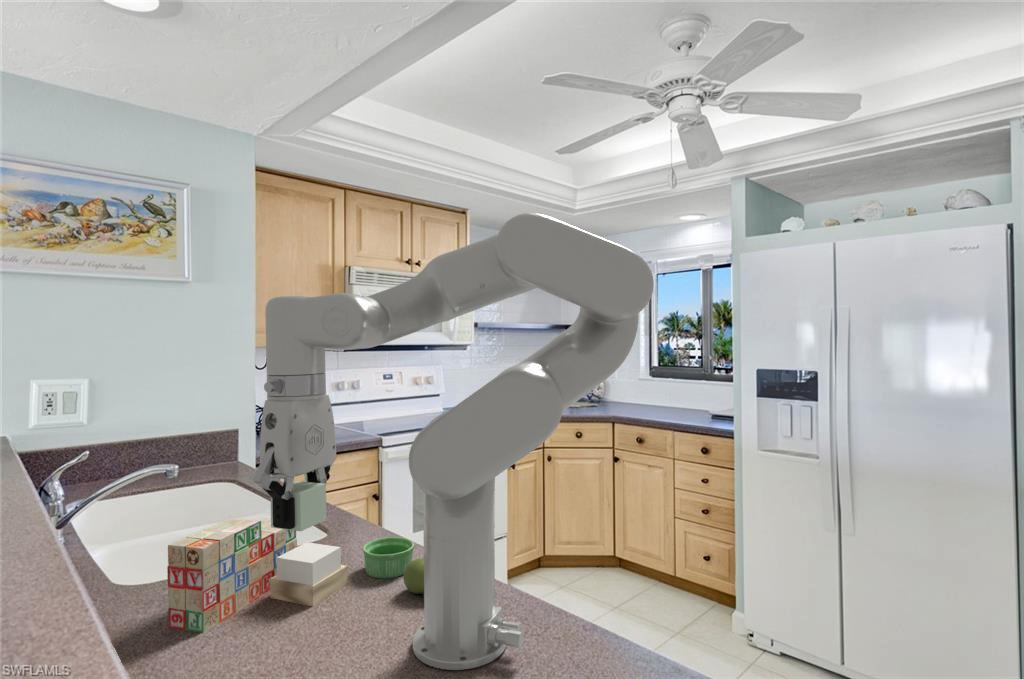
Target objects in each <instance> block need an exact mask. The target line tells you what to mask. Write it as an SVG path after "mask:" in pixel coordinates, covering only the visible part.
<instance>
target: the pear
mask: <svg viewBox="0 0 1024 679" xmlns="http://www.w3.org/2000/svg"><path fill="white" fill-rule="evenodd" d="M403 582H404V586H405V587H406V589H407V590H408V591H409V592H410V593H413V594H416V595H420V594H422V595H424V558H421V557H420V558H415V559H414V560H413V559H412V562H411V563H409V565H408V566H407V567H406V569H405V572H404V575H403Z"/></svg>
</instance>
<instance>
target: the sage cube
mask: <svg viewBox="0 0 1024 679" xmlns="http://www.w3.org/2000/svg"><path fill="white" fill-rule="evenodd" d="M291 498H294V504H295V527H294V528H292V529H286V530H294V531H296V532H303V531H306V530H307V529H309V528H312V527H314V526H316V525H318V524H320V523H322V522H325V521H327V483H326V484H323V483H312V482H306V481H302V480H296V481H293V487H292V493H291ZM270 519H271V528H276V527H274V526H273V502H272V498H270ZM279 529H283V528H279Z"/></svg>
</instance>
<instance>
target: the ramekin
mask: <svg viewBox="0 0 1024 679" xmlns="http://www.w3.org/2000/svg"><path fill="white" fill-rule="evenodd" d="M414 547H415V543H414V541H412V539H409V538H405V537H401V536H387V537H386V536H385V537H381V538H376V539H373V540H371V541H368V542H367V543H365V544H364V545H363V547H362V552H363V555H364V556H363V557H364V566H365V567H364V568H365V573H366V575H368V576H370V577H373V578H376V579H393V578H397V577H401V576H404V572H405V569H406V567H407V566H408V565H409V563H411V562H412V561H413V555H414V554H413V552H414V549H415V548H414Z"/></svg>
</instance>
